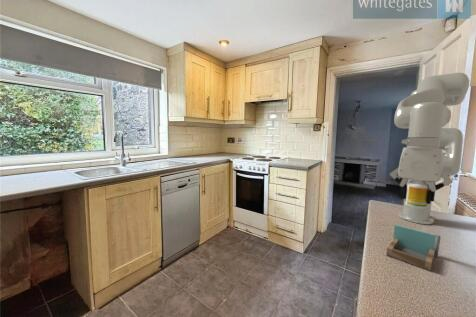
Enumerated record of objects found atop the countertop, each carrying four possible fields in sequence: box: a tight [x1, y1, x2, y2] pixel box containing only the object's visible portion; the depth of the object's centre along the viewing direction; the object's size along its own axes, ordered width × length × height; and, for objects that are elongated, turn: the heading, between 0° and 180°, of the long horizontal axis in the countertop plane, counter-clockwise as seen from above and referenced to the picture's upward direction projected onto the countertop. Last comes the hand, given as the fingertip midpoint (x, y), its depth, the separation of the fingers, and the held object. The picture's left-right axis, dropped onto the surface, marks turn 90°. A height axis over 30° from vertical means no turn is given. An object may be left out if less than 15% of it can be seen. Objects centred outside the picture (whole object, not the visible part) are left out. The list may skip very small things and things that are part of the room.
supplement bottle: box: [405, 179, 429, 208], centre depth 66 cm, size 5×5×10 cm
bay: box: [386, 237, 435, 272], centre depth 67 cm, size 10×10×2 cm
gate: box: [392, 224, 442, 259], centre depth 70 cm, size 1×12×7 cm, turn 44°
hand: (416, 200), depth 67 cm, fingers closed on supplement bottle, 5 cm apart
